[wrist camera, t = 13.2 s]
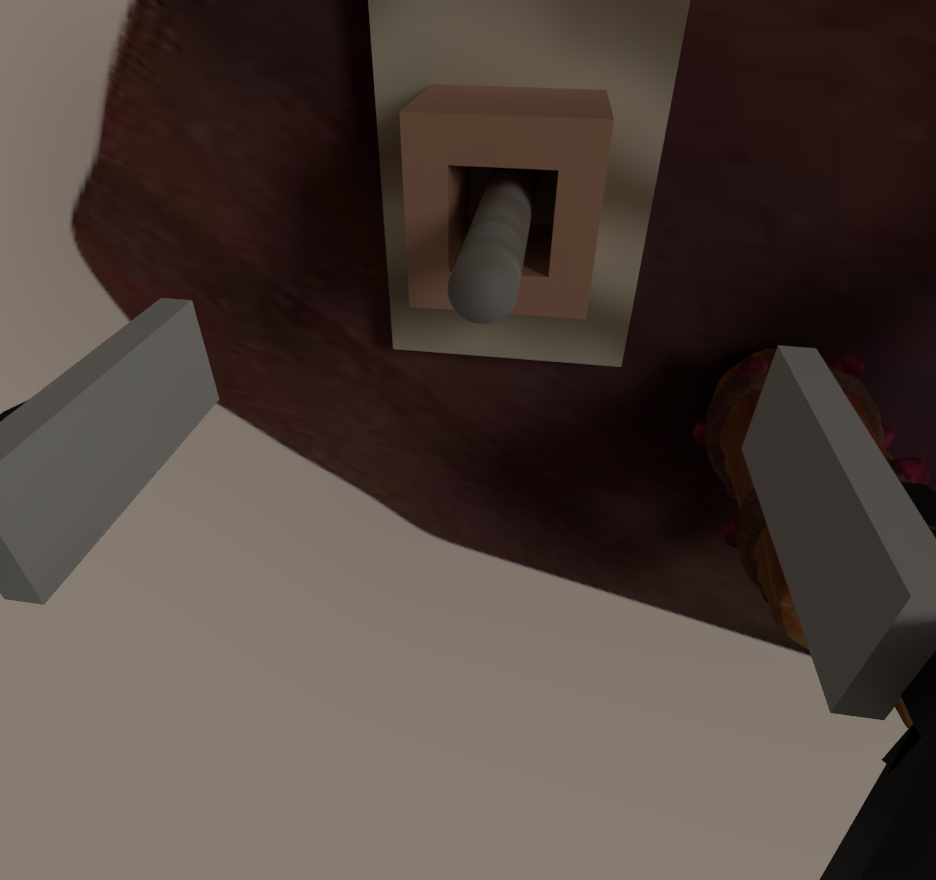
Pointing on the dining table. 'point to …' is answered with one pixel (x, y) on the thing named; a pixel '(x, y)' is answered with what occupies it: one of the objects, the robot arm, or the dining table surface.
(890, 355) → the dining table surface
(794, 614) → the mug
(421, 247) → the bead
